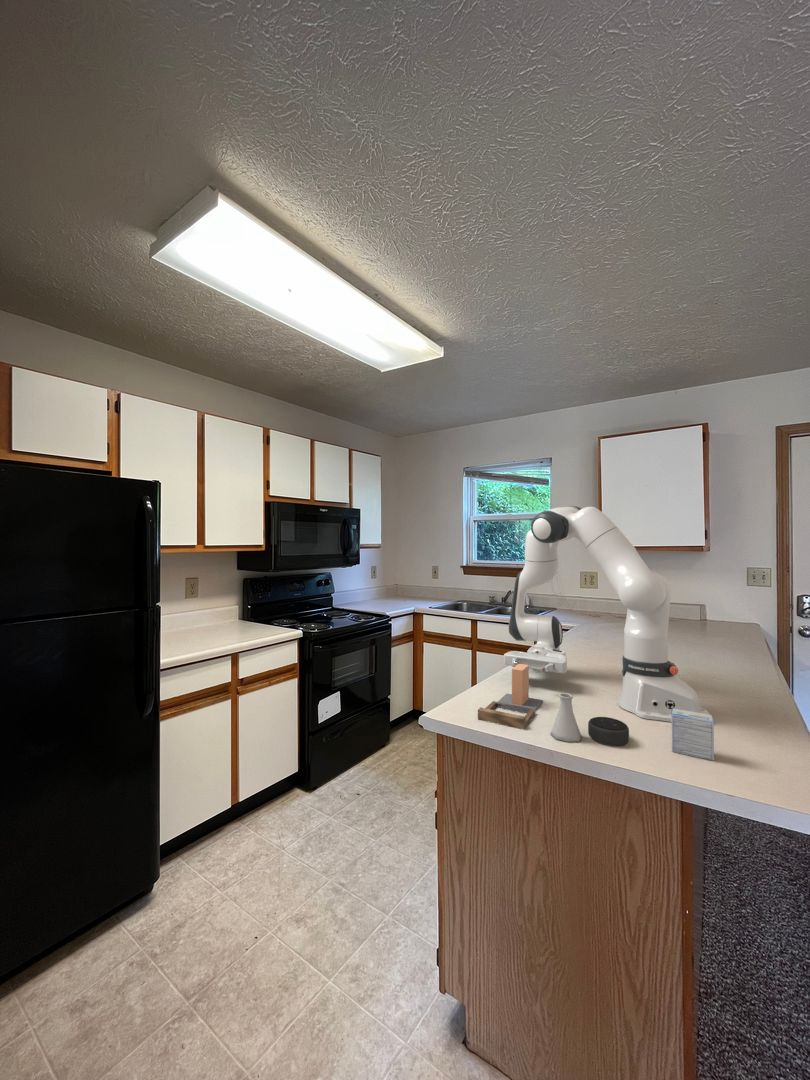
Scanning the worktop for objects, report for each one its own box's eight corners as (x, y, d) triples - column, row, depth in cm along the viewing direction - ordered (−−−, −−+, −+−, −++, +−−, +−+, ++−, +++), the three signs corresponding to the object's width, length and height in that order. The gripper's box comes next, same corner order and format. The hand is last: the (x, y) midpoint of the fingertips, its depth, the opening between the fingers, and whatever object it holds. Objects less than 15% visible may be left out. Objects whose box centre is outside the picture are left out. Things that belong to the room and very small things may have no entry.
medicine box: (713, 753, 97) (712, 714, 98) (714, 761, 94) (714, 721, 94) (671, 744, 102) (671, 707, 102) (671, 752, 98) (671, 713, 98)
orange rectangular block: (528, 698, 131) (528, 665, 131) (522, 705, 125) (522, 670, 125) (518, 696, 132) (518, 663, 133) (511, 703, 126) (512, 669, 127)
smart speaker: (602, 728, 111) (601, 713, 111) (636, 742, 103) (636, 725, 103) (580, 736, 106) (580, 720, 106) (615, 751, 99) (615, 733, 99)
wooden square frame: (535, 713, 120) (535, 704, 120) (523, 729, 110) (523, 719, 110) (493, 705, 126) (493, 696, 126) (477, 719, 116) (477, 709, 116)
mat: (542, 701, 130) (542, 700, 130) (535, 711, 122) (535, 709, 122) (506, 695, 135) (506, 693, 135) (497, 703, 128) (497, 702, 128)
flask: (584, 744, 102) (584, 701, 102) (552, 741, 103) (552, 698, 103) (578, 731, 109) (578, 691, 109) (548, 729, 110) (548, 689, 110)
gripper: (509, 644, 155) (497, 652, 143) (570, 652, 145) (562, 661, 133) (509, 662, 155) (497, 672, 143) (570, 671, 145) (562, 682, 133)
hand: (529, 667), depth 138 cm, fingers open, 8 cm apart
